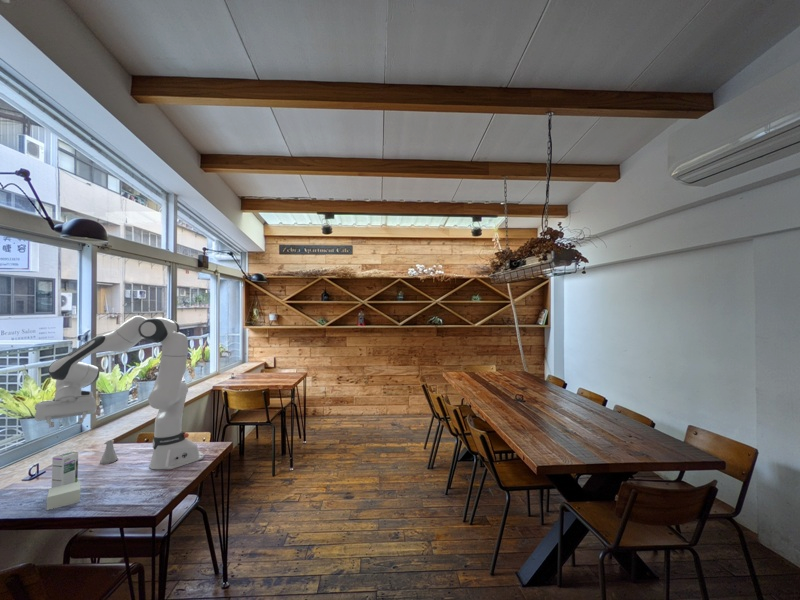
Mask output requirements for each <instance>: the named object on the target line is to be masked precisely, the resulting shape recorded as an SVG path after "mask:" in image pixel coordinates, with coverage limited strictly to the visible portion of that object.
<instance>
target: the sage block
mask: <svg viewBox="0 0 800 600" xmlns="http://www.w3.org/2000/svg"><path fill="white" fill-rule="evenodd" d="M81 486H82V481H77V482H75V483H71V484H66V485H62V486H58V487H54V488H52V487H50V488H49V489H48V493H47V495H46V510H47V511H49V509H51V510H54V509H57V508H62V507H65V506H68V505H73V504H77V503H80V502H81V490H82V489H81V488H82V487H81ZM53 508H54V509H53Z"/></svg>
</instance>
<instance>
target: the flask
mask: <svg viewBox="0 0 800 600" xmlns="http://www.w3.org/2000/svg"><path fill="white" fill-rule="evenodd" d="M114 442H115V440H114V439H110V440H106V441H105V444H106V445H105V449H104V452H103V454H102V456H101V458H100V461H99V464H100V465H105V464H107V465H108V464H111V463H114V462H117V461H118V460H119V458H118V455H117V453H116V451H115V448H114ZM116 460H117V461H116Z"/></svg>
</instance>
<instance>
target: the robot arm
mask: <svg viewBox="0 0 800 600" xmlns="http://www.w3.org/2000/svg"><path fill="white" fill-rule="evenodd" d="M142 339H145V340H148V341H151V342H154V343H157V344H158V343H160V344H161V347H162V350H161V354H160V355H161V356H160V361H159V367H158V368H159V370H158V373H157V377H156V379H155V381H154V384H153V387H152V390H151V392H150V393H149V395H148V397H147V398H148V399H147V402H148V405H149V406H150V407H151V408H153V409H155V410H158V411H157V414H156V417H155V419H154V436H152V437H153V439H152V449H153V450H152V455H151V460H150V462H149V466H148V467H149V469H152V470H173V469H176V468H179V467H180V468H181V467H182V466H186V465H188V464H189V465H190V464H191V463H195V462H198V461H201V460H203V459H204V453H203V451H200V450H199V447H198V445H197V444H196V442H194V441H192V440H190V439H189V433H188V432H186V431H183V430H182V424H183V412H184V408H185V403H186V398H187V395H188V391H189V387H188V385H187V383H185V382H184V381H182V380H183V377H184V374H185V373H186V371H187V370H186V369H187V364H188V363H187V362H188V355H189V354H188V353H189V340H188V336H187V335H186V334H184V333H182V332H180V324H179V323H178V322H177V321H176V320H174V319H172V318H165V317H150V318H146V317H143V316H141V315H135V316H133V317H130V318H129V319H128V320H126V321H124V322H123V323H122V324H120V325H119V326H118V327H117V328H116V329H114V330H113V331H110V332H108V333H105V334H103V335H97V336H95V337H93V338H91V339H90V340H88V341H86V342H84V343H83V344H81V345H80V346H78V347H77V348H75V349H74V350H72V351H70V352H69V353H68V354H66V355H63V356H62V357H59V358H57V359H56V360H54V361H53V362H52V363H51V364H50V365H49V368H48V374H49V376H50V378H52V379H53V380H55V386H54V387H55V393H54V399H51V400H41V401H40V402H37V403H36V404H35V405H34V410H35V413H34V414H35V415H34V420H35V421H36V422H42V421H45V423H47V425H48V427H49V429H50V428H55V421H52V420H56V419H64V418H65V419H66V418H71V417H78V416H81V417H79V418H78V424H83V423H84V419H86V417H87V415H93V414H95V413H96V412H97V410H98V405H97V404H98V403H97V400H96V398H95V397H94V392H93V391H90V390H83V389H84V388H87V387H88V386H91V385H92V384H94V383H96V382H97V381H98V379H99V378H100V369H99V367H98V366H97V365H93V364H90V363H85V362H82V361H83V360H84V359H85V358H88V357H89V356H90V355H92V354H94V353H100V352H114V353H122V352H126V351H128V350H130V349H132V348H133V347H135V346H136V344H138V343H139V342H140V341H141V340H142Z"/></svg>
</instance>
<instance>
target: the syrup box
mask: <svg viewBox="0 0 800 600" xmlns="http://www.w3.org/2000/svg"><path fill="white" fill-rule="evenodd" d="M51 466H52V467H51V488H54V487H58V486H62V485H66V484H71V483H75V482H78V473H79V452H78V451H67V452H64V453H61V454H58V455H53V456H52V464H51Z"/></svg>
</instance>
